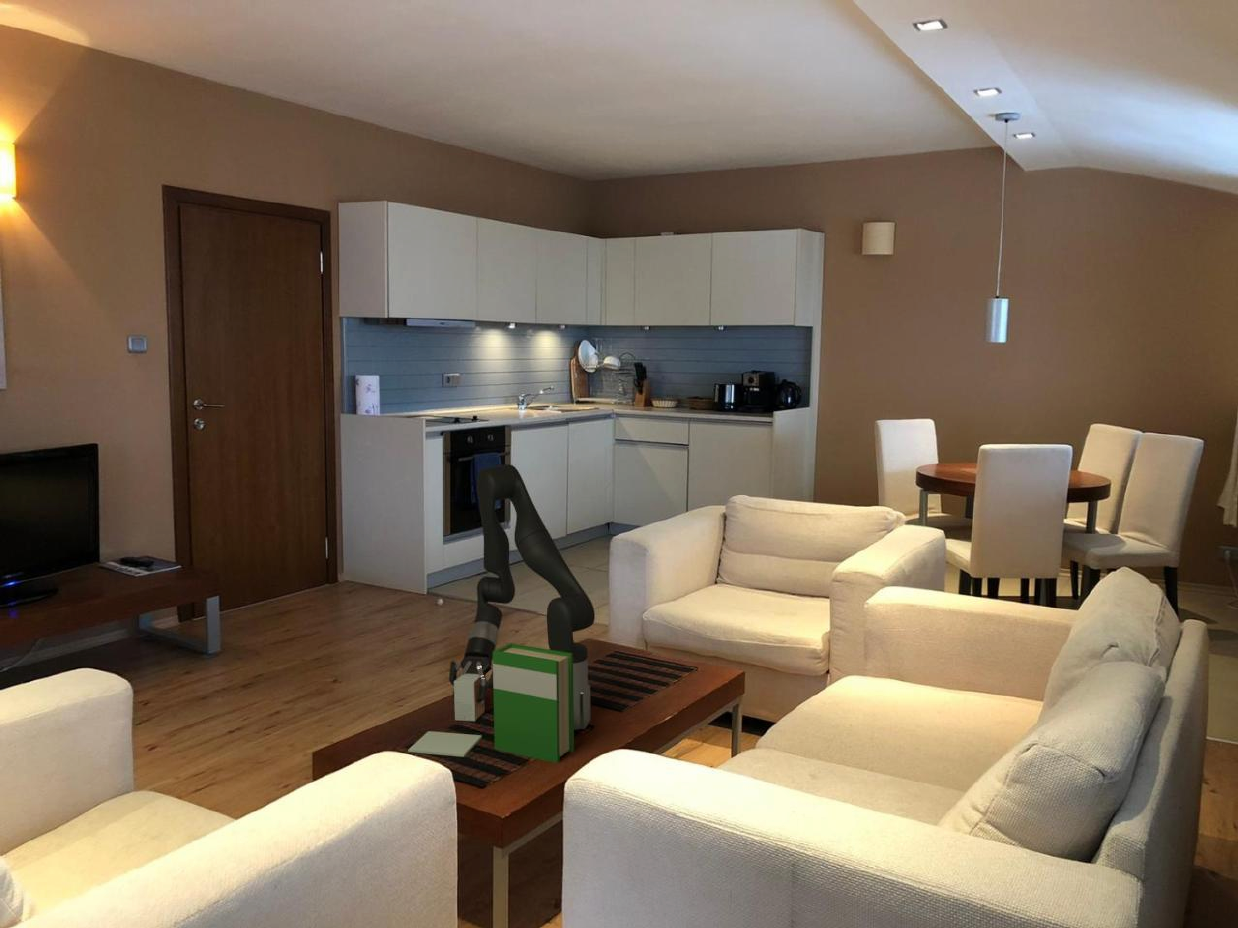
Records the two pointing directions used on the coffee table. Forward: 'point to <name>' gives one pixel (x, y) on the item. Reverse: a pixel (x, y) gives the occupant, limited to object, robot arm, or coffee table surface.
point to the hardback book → (533, 701)
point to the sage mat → (445, 743)
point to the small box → (467, 698)
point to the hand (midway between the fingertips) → (467, 700)
